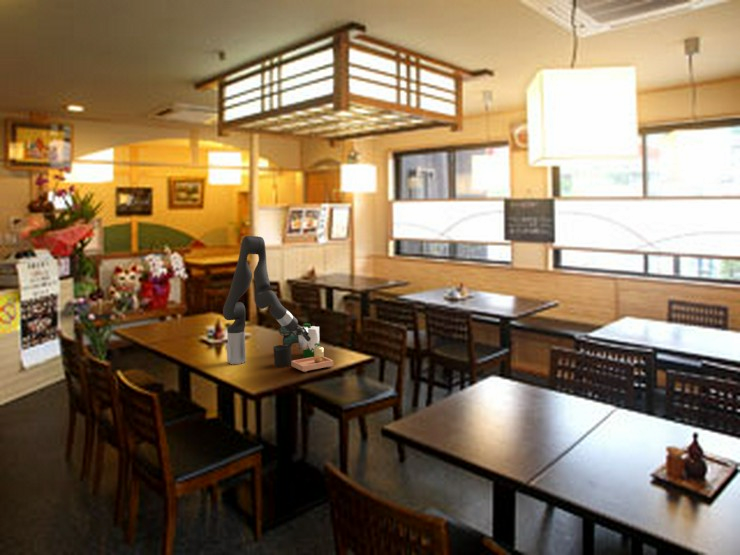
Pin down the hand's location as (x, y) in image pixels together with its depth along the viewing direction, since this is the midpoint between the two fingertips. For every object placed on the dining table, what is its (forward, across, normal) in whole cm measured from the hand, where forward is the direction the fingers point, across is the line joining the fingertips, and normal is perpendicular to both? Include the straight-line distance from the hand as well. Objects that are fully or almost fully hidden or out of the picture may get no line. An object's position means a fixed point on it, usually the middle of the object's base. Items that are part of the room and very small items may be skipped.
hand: (306, 339), depth 281 cm
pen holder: (+8, +16, +14) cm, 23 cm away
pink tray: (+14, -1, +9) cm, 16 cm away
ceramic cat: (+22, +29, +1) cm, 36 cm away
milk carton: (+21, +14, +2) cm, 25 cm away
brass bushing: (+15, -1, +4) cm, 15 cm away
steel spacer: (+2, 0, +5) cm, 5 cm away
